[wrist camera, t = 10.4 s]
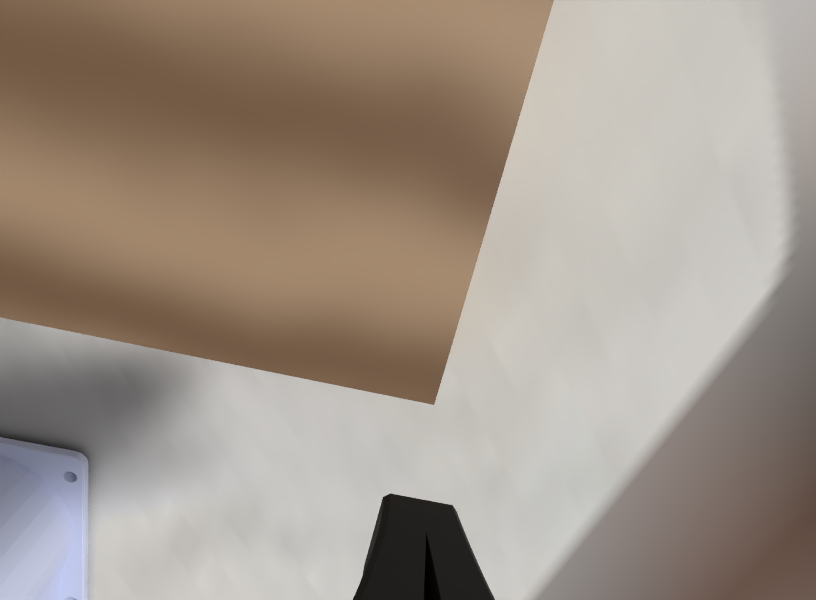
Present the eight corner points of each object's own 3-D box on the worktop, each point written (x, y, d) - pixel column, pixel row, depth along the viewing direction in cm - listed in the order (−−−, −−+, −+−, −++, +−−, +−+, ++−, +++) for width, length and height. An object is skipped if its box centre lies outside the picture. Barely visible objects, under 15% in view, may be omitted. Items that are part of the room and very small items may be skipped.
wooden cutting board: (430, 358, 19) (434, 404, 17) (33, 275, 18) (-34, 310, 16) (558, -95, 14) (594, -137, 11) (14, -250, 13) (-92, -338, 10)
